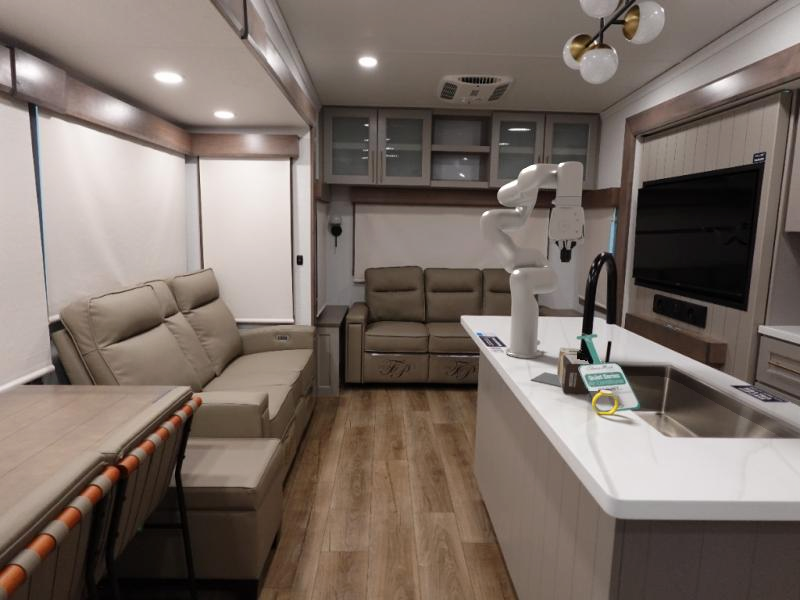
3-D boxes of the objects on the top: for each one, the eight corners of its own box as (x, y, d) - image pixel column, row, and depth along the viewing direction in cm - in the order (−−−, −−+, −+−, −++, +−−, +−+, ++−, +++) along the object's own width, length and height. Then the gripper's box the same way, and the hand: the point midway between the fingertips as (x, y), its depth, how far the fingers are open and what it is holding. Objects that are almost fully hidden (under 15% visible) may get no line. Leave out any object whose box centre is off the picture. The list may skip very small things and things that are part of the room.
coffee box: (559, 347, 152) (566, 361, 136) (580, 348, 151) (590, 363, 135) (556, 375, 153) (563, 393, 138) (578, 377, 152) (587, 395, 137)
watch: (613, 413, 125) (617, 390, 124) (617, 417, 122) (621, 394, 121) (589, 411, 125) (592, 388, 124) (593, 415, 122) (596, 392, 121)
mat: (544, 373, 157) (544, 372, 157) (576, 379, 151) (576, 378, 151) (530, 380, 150) (530, 379, 150) (562, 387, 144) (562, 386, 143)
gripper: (540, 203, 155) (537, 261, 158) (588, 201, 146) (584, 264, 149) (550, 204, 161) (547, 260, 164) (597, 202, 152) (593, 262, 154)
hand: (565, 262), depth 156 cm, fingers closed
